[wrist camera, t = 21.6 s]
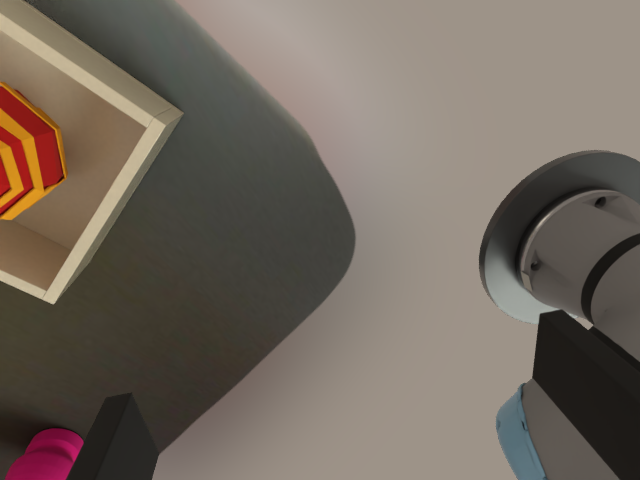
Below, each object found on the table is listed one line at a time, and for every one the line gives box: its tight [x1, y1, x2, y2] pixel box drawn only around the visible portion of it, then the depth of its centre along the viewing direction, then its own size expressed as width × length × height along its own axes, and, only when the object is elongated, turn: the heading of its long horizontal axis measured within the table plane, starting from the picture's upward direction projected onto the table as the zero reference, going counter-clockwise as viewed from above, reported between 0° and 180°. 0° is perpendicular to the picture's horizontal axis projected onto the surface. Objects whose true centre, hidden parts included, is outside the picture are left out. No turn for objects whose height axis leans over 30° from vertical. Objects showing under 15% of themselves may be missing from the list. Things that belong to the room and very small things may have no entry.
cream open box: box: [0, 0, 184, 304], centre depth 32 cm, size 19×19×8 cm
